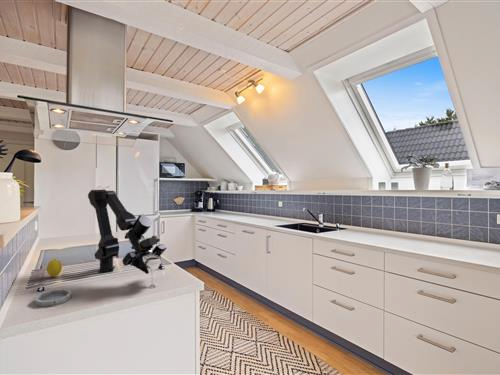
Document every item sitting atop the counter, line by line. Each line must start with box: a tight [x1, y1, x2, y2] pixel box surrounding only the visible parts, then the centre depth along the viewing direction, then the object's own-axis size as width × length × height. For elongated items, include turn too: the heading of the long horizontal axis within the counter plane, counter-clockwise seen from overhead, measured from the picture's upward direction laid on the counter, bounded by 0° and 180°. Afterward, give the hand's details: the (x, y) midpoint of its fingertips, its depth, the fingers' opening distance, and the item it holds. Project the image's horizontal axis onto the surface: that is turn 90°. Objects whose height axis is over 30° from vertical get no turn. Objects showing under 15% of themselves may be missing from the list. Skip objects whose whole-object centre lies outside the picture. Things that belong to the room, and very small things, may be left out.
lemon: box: [46, 258, 63, 278], centre depth 125 cm, size 6×6×8 cm
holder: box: [33, 288, 73, 308], centre depth 104 cm, size 11×11×2 cm
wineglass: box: [143, 255, 162, 289], centre depth 119 cm, size 7×7×12 cm
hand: (154, 270), depth 118 cm, fingers closed on wineglass, 6 cm apart
